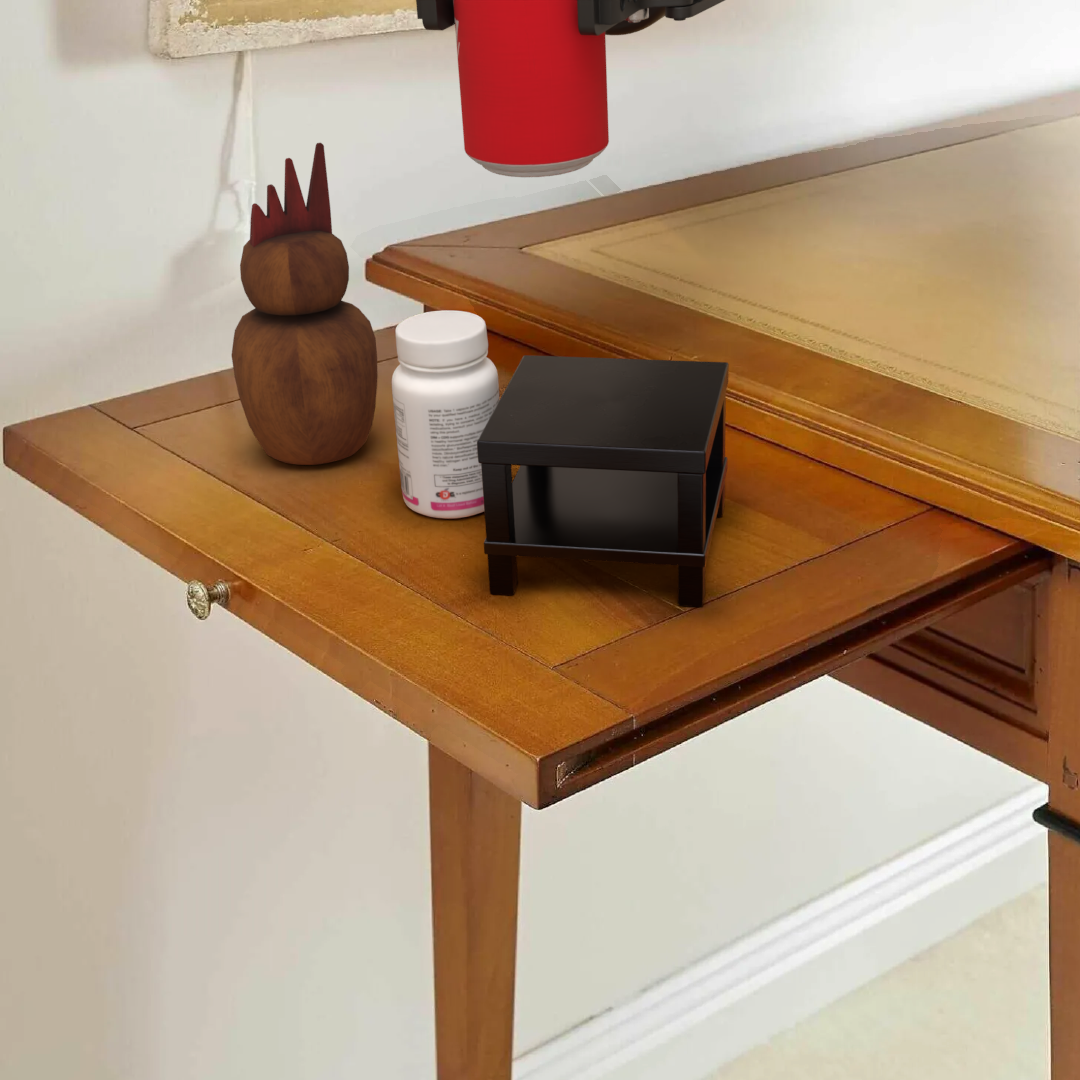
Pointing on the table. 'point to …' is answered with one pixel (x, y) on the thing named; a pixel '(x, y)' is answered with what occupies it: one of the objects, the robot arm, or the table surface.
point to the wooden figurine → (302, 331)
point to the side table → (606, 465)
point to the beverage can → (530, 86)
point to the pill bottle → (442, 410)
